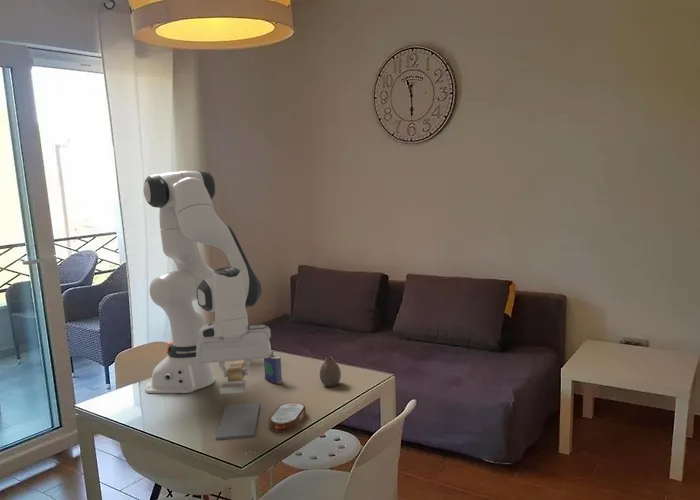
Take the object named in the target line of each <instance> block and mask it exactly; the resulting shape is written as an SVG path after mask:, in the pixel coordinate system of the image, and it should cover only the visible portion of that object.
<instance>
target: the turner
mask: <svg viewBox="0 0 700 500" xmlns="http://www.w3.org/2000/svg"><path fill="white" fill-rule="evenodd" d="M245 366H246V363H245V360H237V361H230V365H229V367H228V368H227V369H228V371H227V375H228V377H227V381H223V382H222V384H221V386H220V387H219V394H220V395H225V394H227V395H228V394H238V393H244V392H245V389H246V386H247V382H246V381H247V380H246V379H244V378H245V376H246V375H242V368H245Z"/></svg>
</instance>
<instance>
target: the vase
mask: <svg viewBox="0 0 700 500" xmlns="http://www.w3.org/2000/svg"><path fill="white" fill-rule="evenodd" d="M341 379H342V372H341V368H340V366H339V364H338V363H337V362H336V361H335V359H334V358H333V357H326V358H325V360H324V362H323V363H322V365H321V367H320V368H319V380H320V381H321V383H322V385H324V386H325V387H328V388H331V387H335V386H337V385H339V383H340V381H341Z"/></svg>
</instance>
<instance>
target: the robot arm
mask: <svg viewBox="0 0 700 500" xmlns="http://www.w3.org/2000/svg"><path fill="white" fill-rule="evenodd" d="M215 183H216V182H215V179H214V176H213V175H212V174H211V173H210V172H209V171H206V170H177V171H170V172H164V173H155V174H150V175H148V176H146V178H145V181H144V184H143V196H144V198H145V201H146V202H147V205H149V206H151V207H153V208H157V209H158V208H159V215H158V217H159V229H160V236H161V237H160V238H161V244H162V245H161V246H162V251H163V253H164V255H165V256H166V257H168V258H170V259H172V260H173V261H174V263H175V266H176V269H177V270H175V271H170V272H165V273H163V274H161V275H158V276H157V277H155V278H153V280H152V281H151V282H150V285H149V288H148V289H149V295H150V296H149V297H150V298H151V300H152V302H153V303H154V304H155V305H156V306H158V307H160V309H162V310H163V311H164V313H165V314H166V316H167V318H168V321H169V323H170V330H171V331H170V332H171V338H172V339H171V341H170V342H169V343H168V345H167V347H166V353H167V355H166V357H164V358H163V360H161V361H160V362H159V363H158V364H157V365H156V366H155V368H154V369H153V370H152V375H151V380H149V381H148V382H147V384H146V385H145V388H144V389H145V390H144V392H146V393H147V394H179V393H180V394H186V393H187V394H188V393H192V392H195V391H197V390H200V389H203V388H206V387H208V386H210V385H212V384H213V383H215V381H216V378H215V376H214V373H213V370H212V366H211V363H212V364H213V363H218V367H219V368H220V370H222V372H223V377H225V378H226V377H227V378H228V375H227V371H228V369H229V368H227V367H226V366H225V364H226V362H232V361H237V360H245V368H242V375H245V376H248V373H249V371H248V369H249V366H250V365H251V360H258V359H264V358H268V357H269V356H270V355H271V351H272V348H271V342H270V339H271V337H272V334H271V328H270V327H269V326H267V325H265V324H257V325H256V324H252V325H251V324H250V325H249V318H248V317H249V316H248V311H247V309H246V308H251V307H254V306H255V305H256V304H257V303H258V301H259V300H260V298H261V296H262V295H263V294H262V292H263V291H262V290H263V289H262V283H261V282H260V279H259V277H258V276H257V274H256V273H255V272H254V270H253V269H252V267H251V265H250V263H249V261H248V259H247V257H246V254H245V253H244V250H243V248H242V245H241V244H240V242H239V240H238V238H237V236H236V234H235V232H234V230H233V229H232V228H231V226H230V225H228V224H226V223H224V222H223V220H221V219H220V217H219V216H218V214H217V213H216V211H215V208H214V205H213V199H214V198H215V195H216V184H215ZM198 243H199V244H204V245H209V246H212V247H214V248H217V249H219V250H221V251H222V252H223V253H224V254H225V256H226V258H227V259H228V262H229V264H230V266H231V267H229V266H224V267H218V268H216V269H215V270H214V269H213V268H212V267H210V266H209V265H208V264H207V263H206V261H204V259H203V257H202V254H201V252H200V249H199V245H198ZM193 301H197V304H198V306H199V307H200V308H201V309H203V311H206V312H215V313H214V314H215V315H214V321H212V322H209V323H207V324H206V319H205V317H204V316H203V315H202V314H200V313H198V312H196V311H195V308H194V306H193Z"/></svg>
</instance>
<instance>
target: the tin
mask: <svg viewBox="0 0 700 500" xmlns="http://www.w3.org/2000/svg"><path fill="white" fill-rule="evenodd" d="M306 417H307V411H306V405H304V404H303V403H298V402H297V403H296V402H293V403H291V402H287V403H283V404H280V405H279V406H277V408H276V409H275V410H274V411H273V413H272V414H271V415H270V416H269V418H268V429H269V430H270V431H271V432H273V433H279V434H280V433H289V432H292V431H295V430H296V429H298V428H299V427H300V425H301V424H302V423H303V421H304V420H305V419H306Z"/></svg>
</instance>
